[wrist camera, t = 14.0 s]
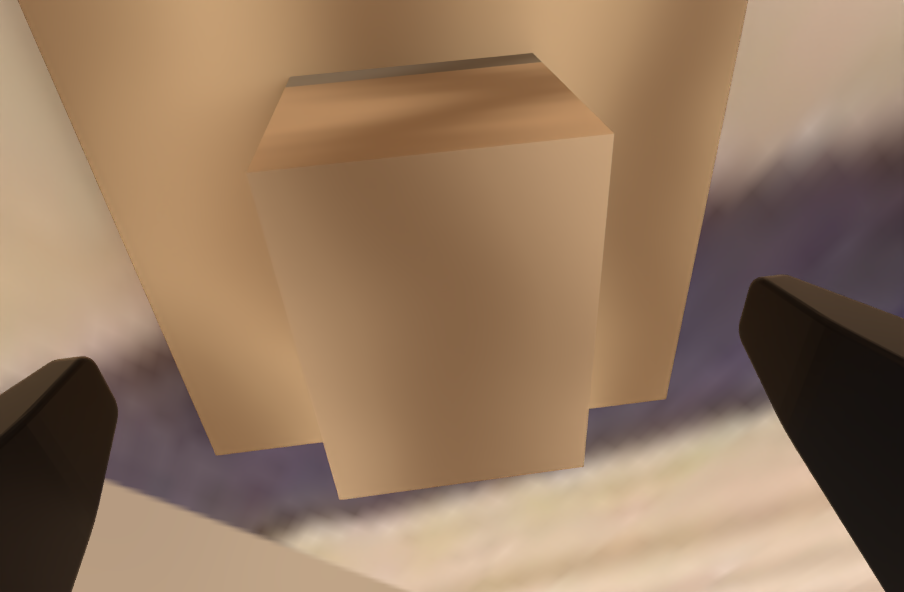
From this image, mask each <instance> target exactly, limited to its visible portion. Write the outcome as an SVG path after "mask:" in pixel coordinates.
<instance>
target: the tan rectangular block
mask: <svg viewBox="0 0 904 592" xmlns="http://www.w3.org/2000/svg"><path fill="white" fill-rule="evenodd" d="M613 142H614V133H613V132H612V131H611V130H610V129H609V128H608V127H607V126H606V125H605V124H604V123H603V122H602V121H601V120H600V119H599V118H598V117H597V116H596V115H595V114H594V113H593V112H592V111H591V110H590V109H589V108H588V107H587V106H586V105H585V104H584V103H583V102H582V101H581V100H580V99H579V98H578V97H577V96H576V95H575V94H574V93H573V92H572V91H571V90H570V89H569V88H568V87H567V86H566V85H565V84H564V83H563V82H562V81H561V80H560V79H559V78H558V77H557V76H556V75H555V74H554V73H553V72H552V71H551V70H550V69H549V68H548V67H547V66H545V65H544V64H543V63H542V62H541V61H540V60H539V59H538V58H537V57H536V56H535V55H534V54H533V53H527V54H517V55H507V56H497V57H486V58H476V59H466V60H456V61H446V62H436V63H425V64H415V65H405V66H395V67H385V68H375V69H364V70H354V71H344V72H334V73H324V74H314V75H303V76H293V77H290V78H289V80H288V82H287V85H286V87H285V89H284V91H283V93H282V96H281V98H280V100H279V102H278V104H277V106H276V109H275V111H274V113H273V115H272V117H271V120H270V122H269V124H268V126H267V128H266V131H265V133H264V135H263V137H262V139H261V141H260V144H259V146H258V148H257V150H256V152H255V155H254V157H253V159H252V161H251V163H250V166H249V168H248V170H247V172H246V174H247V178H248V181H249V185H250V188H251V192H252V195H253V199H254V202H255V206H256V209H257V213H258V216H259V220H260V223H261V227H262V230H263V234H264V237H265V241H266V244H267V248H268V251H269V255H270V258H271V262H272V265H273V269H274V272H275V276H276V279H277V283H278V286H279V290H280V293H281V297H282V300H283V304H284V307H285V311H286V314H287V318H288V321H289V325H290V328H291V332H292V335H293V339H294V342H295V345H296V349H297V352H298V356H299V359H300V363H301V366H302V370H303V373H304V377H305V380H306V384H307V387H308V391H309V394H310V398H311V401H312V405H313V408H314V412H315V415H316V419H317V422H318V426H319V429H320V433H321V436H322V440H323V443H324V447H325V450H326V454H327V457H328V461H329V464H330V468H331V471H332V475H333V478H334V482H335V485H336V489H337V492H338V496H339V499H340V500H343V499H350V498H357V497H365V496H372V495H379V494H387V493H394V492H401V491H409V490H416V489H423V488H431V487H438V486H445V485H453V484H460V483H467V482H475V481H482V480H489V479H496V478H504V477H511V476H518V475H526V474H533V473H540V472H548V471H555V470H562V469H570V468H577V467H584V456H585V445H586V434H587V423H588V413H589V402H590V391H591V380H592V369H593V358H594V348H595V337H596V326H597V315H598V304H599V293H600V283H601V272H602V261H603V250H604V239H605V228H606V218H607V207H608V196H609V185H610V174H611V164H612V153H613Z"/></svg>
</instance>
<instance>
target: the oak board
mask: <svg viewBox="0 0 904 592" xmlns="http://www.w3.org/2000/svg"><path fill="white" fill-rule="evenodd" d="M18 2H19V4H20V6H21V9H22V11H23V13H24V16H25V18H26V20H27V22H28V25H29V27H30V29H31V32H32V34H33V36H34V38H35V41H36V43H37V45H38V48H39V50H40V52H41V55H42V57H43V59H44V61H45V64H46V66H47V68H48V71H49V73H50V75H51V78H52V80H53V82H54V84H55V87H56V89H57V91H58V94H59V96H60V98H61V100H62V103H63V105H64V107H65V110H66V112H67V114H68V117H69V119H70V121H71V123H72V126H73V128H74V130H75V133H76V135H77V137H78V140H79V142H80V144H81V146H82V149H83V151H84V153H85V156H86V158H87V160H88V163H89V165H90V167H91V169H92V172H93V174H94V176H95V179H96V181H97V183H98V185H99V188H100V190H101V192H102V195H103V197H104V199H105V202H106V204H107V206H108V208H109V211H110V213H111V215H112V218H113V220H114V222H115V225H116V227H117V229H118V231H119V234H120V236H121V238H122V241H123V243H124V245H125V247H126V250H127V252H128V254H129V257H130V259H131V261H132V264H133V266H134V268H135V270H136V273H137V275H138V277H139V280H140V282H141V284H142V287H143V289H144V291H145V293H146V296H147V298H148V300H149V303H150V305H151V307H152V309H153V312H154V314H155V316H156V319H157V321H158V323H159V326H160V328H161V330H162V332H163V335H164V337H165V339H166V342H167V344H168V346H169V349H170V351H171V353H172V355H173V358H174V360H175V362H176V365H177V367H178V369H179V371H180V374H181V376H182V378H183V381H184V383H185V385H186V388H187V390H188V392H189V394H190V397H191V399H192V401H193V404H194V406H195V408H196V411H197V413H198V415H199V417H200V420H201V422H202V424H203V427H204V429H205V431H206V433H207V436H208V438H209V440H210V443H211V445H212V447H213V450H214V452H215V454H216V455H223V454H231V453H239V452H247V451H255V450H263V449H271V448H279V447H287V446H295V445H303V444H311V443H319V442H323V440H322V436H321V433H320V429H319V426H318V422H317V419H316V415H315V412H314V408H313V405H312V401H311V398H310V394H309V391H308V387H307V384H306V380H305V377H304V373H303V370H302V366H301V363H300V359H299V356H298V352H297V349H296V345H295V342H294V339H293V335H292V332H291V328H290V325H289V321H288V318H287V314H286V311H285V307H284V304H283V300H282V297H281V293H280V290H279V286H278V283H277V279H276V276H275V272H274V269H273V265H272V262H271V258H270V255H269V251H268V248H267V244H266V241H265V237H264V234H263V230H262V227H261V223H260V220H259V216H258V213H257V209H256V206H255V202H254V199H253V195H252V192H251V188H250V185H249V181H248V178H247V174H246V172H247V170H248V168H249V166H250V163H251V161H252V159H253V157H254V155H255V152H256V150H257V148H258V146H259V144H260V141H261V139H262V137H263V135H264V133H265V131H266V128H267V126H268V124H269V122H270V120H271V117H272V115H273V113H274V111H275V109H276V106H277V104H278V102H279V100H280V98H281V96H282V93H283V91H284V89H285V87H286V85H287V82H288V80H289V78H290V77H293V76H303V75H314V74H324V73H334V72H344V71H354V70H364V69H375V68H385V67H395V66H405V65H415V64H425V63H436V62H446V61H456V60H466V59H476V58H486V57H497V56H507V55H517V54H527V53H533V54H534V55H535V56H536V57H537V58H538V59H539V60H540V61H541V62H542V63H543V64H544V65H545V66H547V67H548V68H549V69H550V70H551V71H552V72H553V73H554V74H555V75H556V76H557V77H558V78H559V79H560V80H561V81H562V82H563V83H564V84H565V85H566V86H567V87H568V88H569V89H570V90H571V91H572V92H573V93H574V94H575V95H576V96H577V97H578V98H579V99H580V100H581V101H582V102H583V103H584V104H585V105H586V106H587V107H588V108H589V109H590V110H591V111H592V112H593V113H594V114H595V115H596V116H597V117H598V118H599V119H600V120H601V121H602V122H603V123H604V124H605V125H606V126H607V127H608V128H609V129H610V130H611V131H612V132H613V133H614V142H613V153H612V164H611V174H610V185H609V196H608V207H607V218H606V228H605V239H604V250H603V261H602V272H601V283H600V293H599V304H598V315H597V326H596V337H595V348H594V358H593V369H592V380H591V391H590V402H589V409H590V408H598V407H606V406H614V405H622V404H630V403H638V402H646V401H654V400H662V399H666V396H667V391H668V386H669V381H670V376H671V372H672V367H673V362H674V357H675V352H676V347H677V343H678V338H679V333H680V328H681V323H682V318H683V313H684V309H685V304H686V299H687V294H688V289H689V284H690V280H691V275H692V270H693V265H694V260H695V255H696V250H697V246H698V241H699V236H700V231H701V226H702V221H703V217H704V212H705V207H706V202H707V197H708V192H709V187H710V183H711V178H712V173H713V168H714V163H715V158H716V154H717V149H718V144H719V139H720V134H721V129H722V124H723V120H724V115H725V110H726V105H727V100H728V95H729V91H730V86H731V81H732V76H733V71H734V66H735V61H736V57H737V52H738V47H739V42H740V37H741V32H742V28H743V23H744V18H745V13H746V8H747V3H748V0H18Z"/></svg>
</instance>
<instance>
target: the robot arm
mask: <svg viewBox="0 0 904 592" xmlns="http://www.w3.org/2000/svg"><path fill="white" fill-rule="evenodd" d="M739 335H740V339H741V341H742V344H743V346H744V348H745V350H746V352H747V354H748V356H749V358H750V360H751V362H752V365H753V367H754V369H755V371H756V373H757V375H758V377H759V379H760V381H761V383H762V385H763V387H764V389H765V391H766V393H767V396H768V398H769V400H770V402H771V404H772V406H773V408H774V410H775V412H776V414H777V416H778V418H779V420H780V422H781V424H782V426H783V428H784V429H785V431H786V433H787V435H788V436H789V438H790V440H791V442H792V443H793V445H794V447H795V448H796V450H797V451H798V453H799V455H800V456H801V458H802V459H803V461H804V463H805V464H806V466H807V467H808V469H809V471H810V472H811V474H812V475H813V477H814V479H815V480H816V482H817V483H818V485H819V487H820V488H821V490H822V491H823V493H824V495H825V496H826V498H827V499H828V501H829V503H830V504H831V506H832V507H833V509H834V511H835V512H836V514H837V515H838V517H839V519H840V520H841V522H842V523H843V525H844V527H845V528H846V530H847V531H848V533H849V535H850V536H851V538H852V539H853V541H854V543H855V544H856V546H857V547H858V549H859V551H860V552H861V554H862V555H863V557H864V559H865V560H866V562H867V563H868V565H869V567H870V568H871V570H872V571H873V573H874V575H875V576H876V578H877V579H878V581H879V583H880V584H881V586H882V587H883V589H884V591H885V592H904V318H901V317H898V316H896V315H893V314H890V313H888V312H885V311H882V310H880V309H877V308H874V307H872V306H869V305H866V304H864V303H861V302H858V301H856V300H853V299H850V298H848V297H845V296H842V295H840V294H837V293H834V292H832V291H829V290H826V289H824V288H821V287H818V286H816V285H813V284H810V283H808V282H805V281H802V280H800V279H797V278H794V277H792V276H789V275H773V276H765V277H758V278H757V279H755V280H754V281H753V282H752V283H751V285H750V287H749V290H748V294H747V298H746V301H745V305H744V309H743V312H742V316H741V319H740V323H739ZM117 418H118V408H117V403H116V400H115V398H114V396H113V394H112V392H111V391H110V389H109V387H108V385H107V383H106V381H105V379H104V378H103V376H102V374H101V372H100V370H99V368H98V367H97V365H96V363H95V362H94V361H93V360H92V359H91V358H88V357H85V356H81V357H73V358H64V359H57V360H54V361H51V362H50V363H48V364H46V365H45V366H43V367H42V368H40V369H39V370H37V371H36V372H34V373H33V374H31V375H30V376H28V377H27V378H25V379H24V380H22V381H21V382H19V383H18V384H16V385H15V386H13V387H11V388H10V389H8V390H7V391H5V392H4V393H2V394H1V395H0V592H72V589H73V586H74V583H75V580H76V577H77V574H78V571H79V568H80V565H81V562H82V559H83V556H84V553H85V550H86V547H87V545H88V541H89V538H90V535H91V532H92V529H93V525H94V522H95V518H96V514H97V510H98V506H99V502H100V497H101V493H102V488H103V483H104V479H105V474H106V470H107V465H108V460H109V456H110V451H111V447H112V442H113V437H114V433H115V428H116V423H117Z"/></svg>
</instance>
